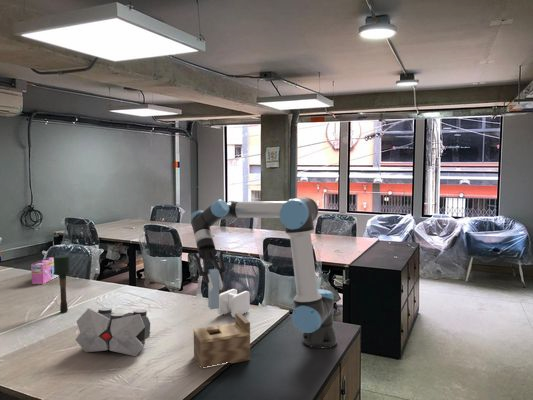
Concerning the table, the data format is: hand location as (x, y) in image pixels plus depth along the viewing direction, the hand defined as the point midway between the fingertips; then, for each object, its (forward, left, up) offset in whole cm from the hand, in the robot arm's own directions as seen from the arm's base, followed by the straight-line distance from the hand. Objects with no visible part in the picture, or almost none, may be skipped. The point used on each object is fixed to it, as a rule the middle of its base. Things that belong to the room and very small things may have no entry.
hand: (216, 288), depth 173 cm
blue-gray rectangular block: (+3, -2, -9) cm, 10 cm away
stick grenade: (+100, -5, -27) cm, 104 cm away
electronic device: (+41, +15, -28) cm, 51 cm away
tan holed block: (-4, +3, -17) cm, 18 cm away
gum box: (+165, -42, -28) cm, 172 cm away
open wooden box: (-4, +3, -27) cm, 28 cm away
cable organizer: (+18, -43, -28) cm, 54 cm away
